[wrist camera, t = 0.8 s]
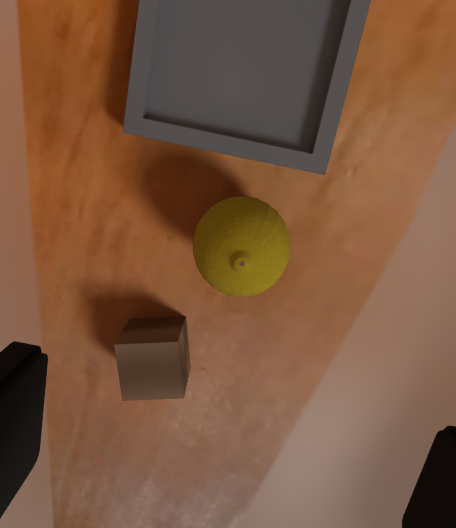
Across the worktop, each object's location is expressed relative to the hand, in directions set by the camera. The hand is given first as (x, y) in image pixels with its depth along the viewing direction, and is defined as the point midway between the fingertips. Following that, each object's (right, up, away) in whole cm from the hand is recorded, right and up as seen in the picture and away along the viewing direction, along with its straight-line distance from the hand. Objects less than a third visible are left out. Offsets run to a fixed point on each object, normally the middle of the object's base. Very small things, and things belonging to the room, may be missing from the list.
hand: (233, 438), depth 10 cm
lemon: (+1, +6, +18) cm, 19 cm away
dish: (+1, +17, +15) cm, 22 cm away
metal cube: (-5, -2, +20) cm, 21 cm away
